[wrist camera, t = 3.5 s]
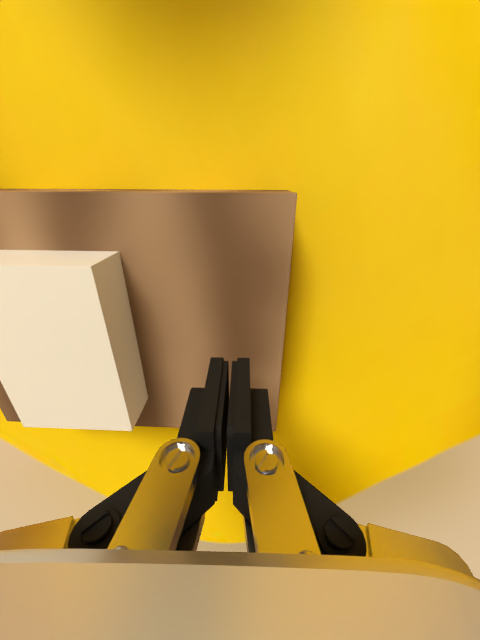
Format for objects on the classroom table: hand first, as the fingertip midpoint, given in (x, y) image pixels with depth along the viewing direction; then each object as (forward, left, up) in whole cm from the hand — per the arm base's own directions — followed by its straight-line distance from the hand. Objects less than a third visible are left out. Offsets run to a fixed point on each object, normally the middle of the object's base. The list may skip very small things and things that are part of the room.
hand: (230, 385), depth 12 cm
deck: (+6, 0, -7) cm, 10 cm away
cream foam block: (+8, 0, -3) cm, 9 cm away
